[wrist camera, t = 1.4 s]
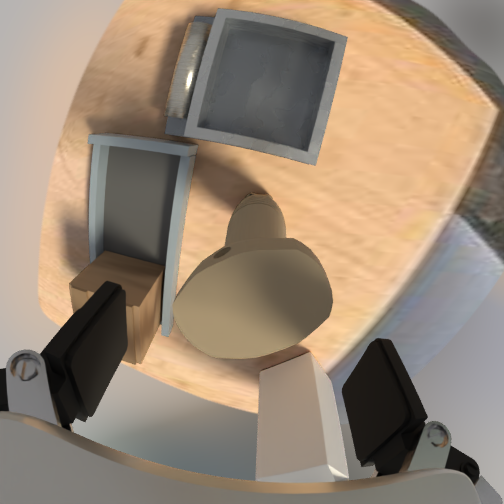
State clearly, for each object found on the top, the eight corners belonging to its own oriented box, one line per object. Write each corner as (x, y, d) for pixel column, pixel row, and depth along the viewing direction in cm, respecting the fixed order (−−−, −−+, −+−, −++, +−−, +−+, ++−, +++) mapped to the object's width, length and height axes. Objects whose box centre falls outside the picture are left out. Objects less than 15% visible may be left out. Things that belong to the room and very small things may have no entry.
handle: (213, 201, 24) (151, 293, 10) (279, 168, 23) (303, 223, 9) (239, 246, 26) (214, 370, 12) (302, 216, 24) (346, 324, 11)
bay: (106, 132, 22) (88, 134, 19) (198, 144, 22) (189, 146, 19) (102, 304, 30) (91, 318, 27) (172, 325, 30) (165, 343, 28)
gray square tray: (199, 21, 17) (187, 4, 14) (335, 48, 18) (348, 35, 14) (170, 133, 22) (153, 134, 18) (306, 162, 22) (314, 168, 19)
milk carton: (259, 370, 33) (253, 513, 15) (310, 350, 31) (331, 502, 14) (284, 397, 35) (288, 520, 18) (331, 380, 33) (353, 508, 16)
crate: (105, 250, 26) (66, 285, 19) (165, 266, 26) (137, 309, 20) (107, 303, 29) (78, 343, 22) (162, 319, 29) (140, 366, 23)
